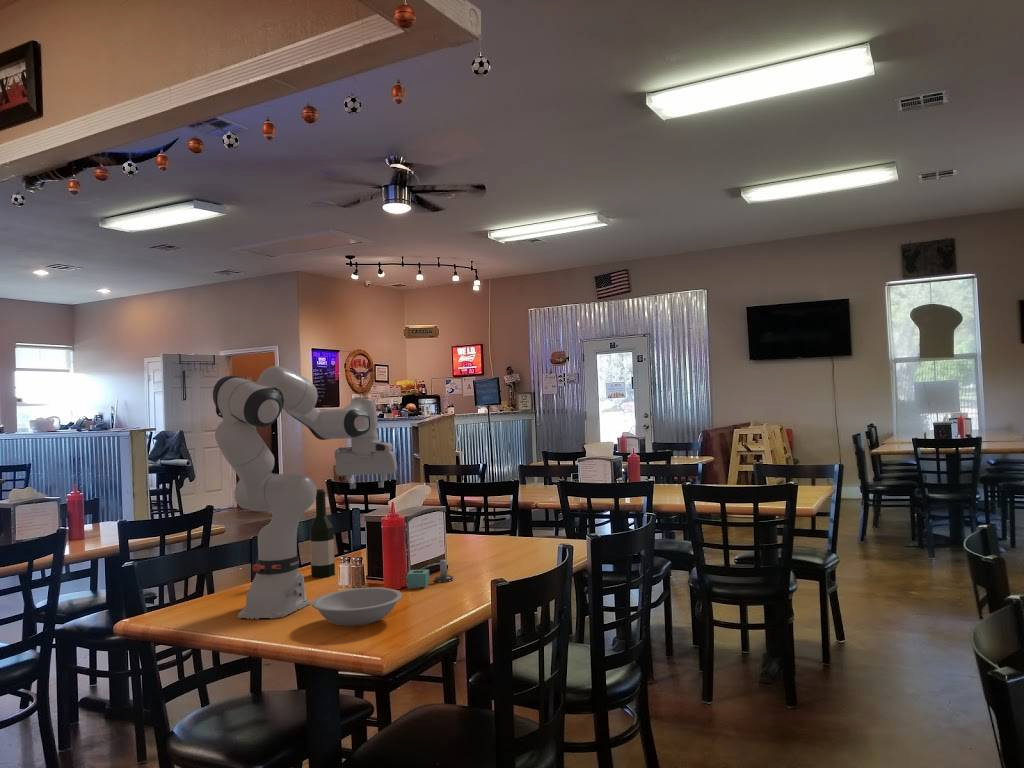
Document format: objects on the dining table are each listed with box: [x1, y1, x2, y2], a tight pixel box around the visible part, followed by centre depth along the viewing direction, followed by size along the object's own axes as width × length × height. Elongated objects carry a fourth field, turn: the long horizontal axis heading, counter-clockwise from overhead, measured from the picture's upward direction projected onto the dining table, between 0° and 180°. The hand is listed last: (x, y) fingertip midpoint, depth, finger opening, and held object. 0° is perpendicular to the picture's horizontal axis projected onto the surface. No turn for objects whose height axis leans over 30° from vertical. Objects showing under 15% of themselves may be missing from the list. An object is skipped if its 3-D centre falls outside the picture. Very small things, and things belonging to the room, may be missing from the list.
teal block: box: [406, 569, 431, 589], centre depth 241 cm, size 6×6×4 cm
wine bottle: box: [309, 488, 336, 579], centre depth 264 cm, size 8×8×30 cm
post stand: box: [434, 559, 454, 583], centre depth 248 cm, size 6×6×6 cm
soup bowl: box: [310, 587, 403, 627], centre depth 202 cm, size 24×24×7 cm
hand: (367, 488), depth 249 cm, fingers open, 8 cm apart
